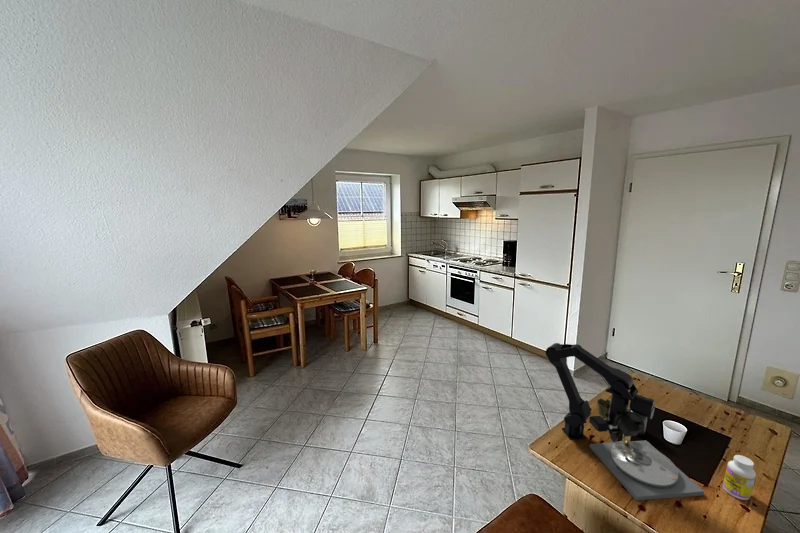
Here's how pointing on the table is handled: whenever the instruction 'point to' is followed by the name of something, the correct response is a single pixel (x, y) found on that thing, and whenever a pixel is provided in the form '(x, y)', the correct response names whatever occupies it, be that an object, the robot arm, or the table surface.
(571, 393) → the robot arm
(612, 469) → the plate
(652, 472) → the grey round piece
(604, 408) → the cup
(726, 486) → the supplement bottle
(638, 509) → the table surface
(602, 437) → the table surface
